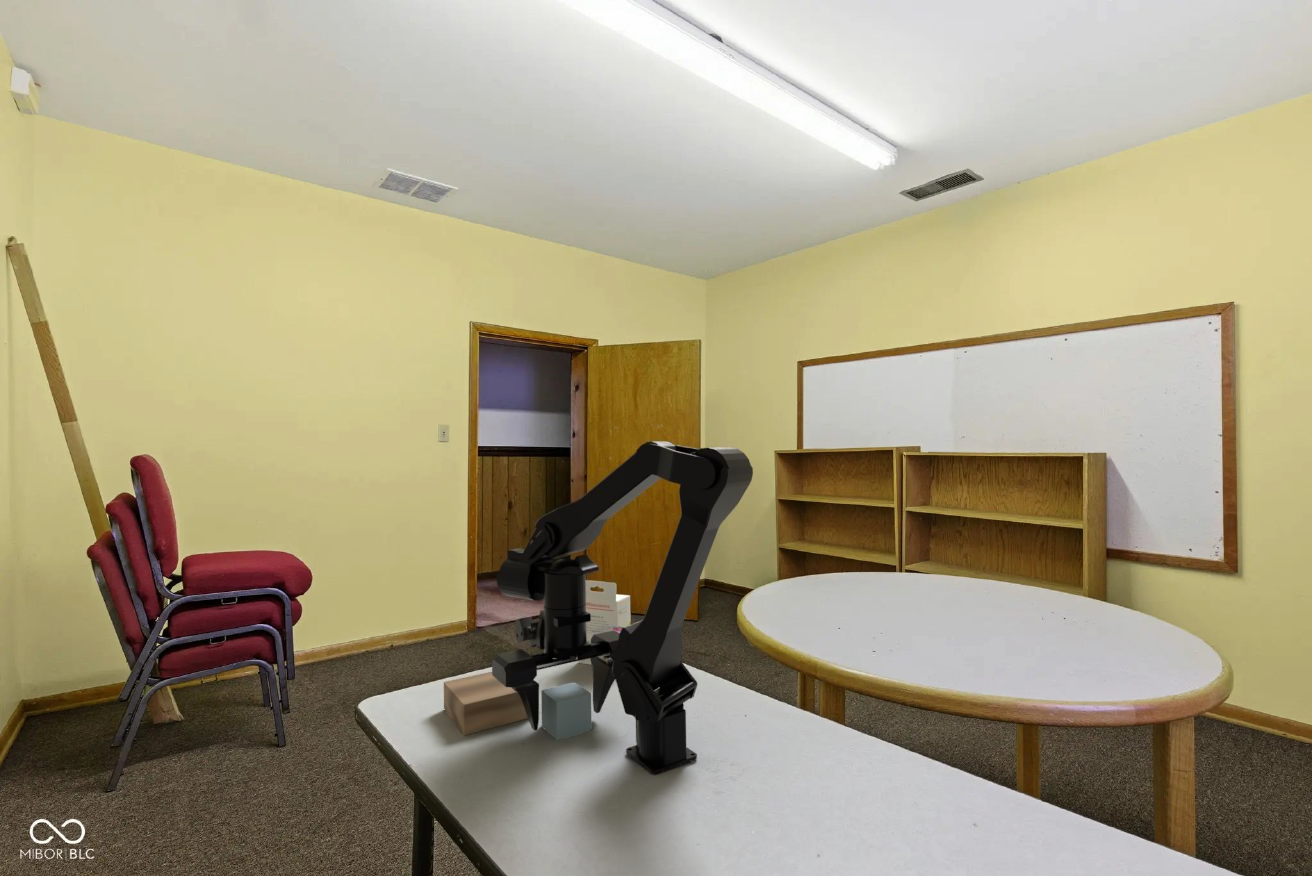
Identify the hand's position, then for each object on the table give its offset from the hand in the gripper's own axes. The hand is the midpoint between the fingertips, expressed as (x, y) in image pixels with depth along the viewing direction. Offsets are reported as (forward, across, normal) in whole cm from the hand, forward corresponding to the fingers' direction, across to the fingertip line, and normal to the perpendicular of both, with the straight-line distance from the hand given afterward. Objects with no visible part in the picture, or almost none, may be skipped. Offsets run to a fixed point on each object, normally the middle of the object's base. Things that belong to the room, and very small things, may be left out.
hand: (566, 720), depth 84 cm
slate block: (+1, 0, 0) cm, 1 cm away
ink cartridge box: (+1, -17, -20) cm, 26 cm away
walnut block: (+1, +7, -11) cm, 13 cm away
